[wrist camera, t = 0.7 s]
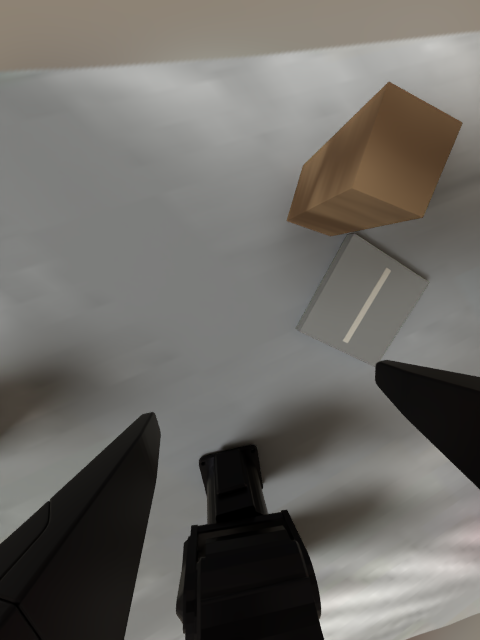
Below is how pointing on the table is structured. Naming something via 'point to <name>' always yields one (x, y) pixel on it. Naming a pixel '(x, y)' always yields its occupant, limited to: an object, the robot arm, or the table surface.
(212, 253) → the table surface
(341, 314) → the coaster
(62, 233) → the table surface
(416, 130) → the walnut block
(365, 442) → the table surface
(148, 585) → the table surface
